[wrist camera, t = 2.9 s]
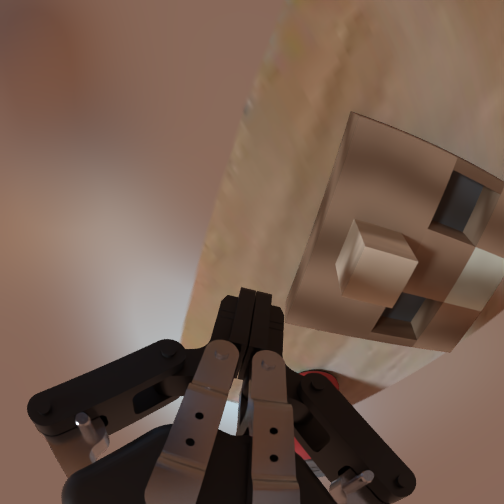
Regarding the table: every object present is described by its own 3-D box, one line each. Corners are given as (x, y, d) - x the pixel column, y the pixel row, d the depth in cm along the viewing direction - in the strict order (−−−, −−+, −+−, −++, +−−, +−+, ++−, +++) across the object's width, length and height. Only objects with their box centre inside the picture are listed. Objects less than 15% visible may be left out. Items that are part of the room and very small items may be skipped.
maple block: (354, 218, 22) (365, 246, 18) (401, 233, 22) (418, 261, 18) (335, 264, 24) (341, 296, 20) (380, 275, 24) (392, 308, 20)
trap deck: (350, 111, 20) (359, 115, 18) (522, 193, 21) (539, 206, 18) (286, 301, 30) (284, 322, 27) (442, 333, 30) (450, 352, 28)
